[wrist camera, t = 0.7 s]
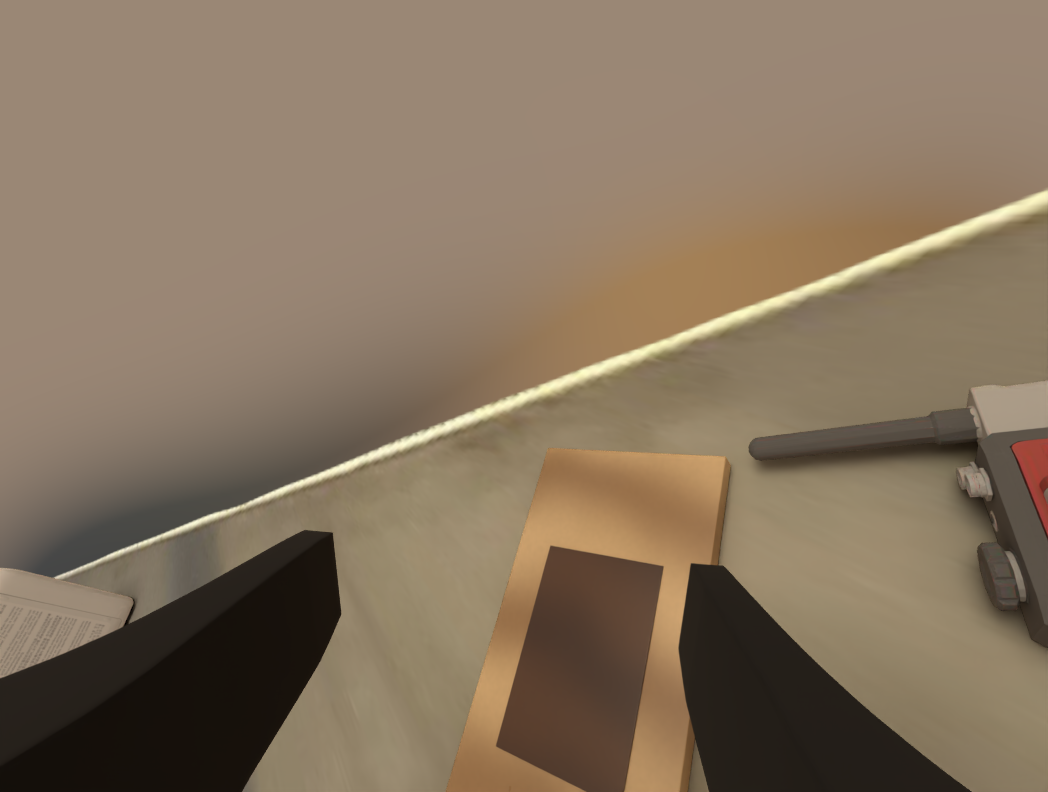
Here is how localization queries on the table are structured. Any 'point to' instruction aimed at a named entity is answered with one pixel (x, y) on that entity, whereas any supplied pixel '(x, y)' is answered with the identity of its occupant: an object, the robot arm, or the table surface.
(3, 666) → the photo printer
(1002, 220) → the table surface
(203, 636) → the robot arm
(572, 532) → the board
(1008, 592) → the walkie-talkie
